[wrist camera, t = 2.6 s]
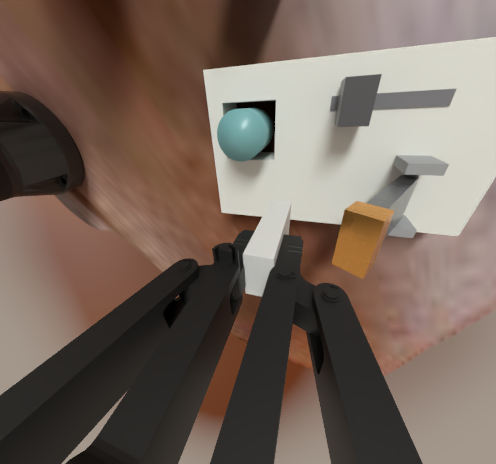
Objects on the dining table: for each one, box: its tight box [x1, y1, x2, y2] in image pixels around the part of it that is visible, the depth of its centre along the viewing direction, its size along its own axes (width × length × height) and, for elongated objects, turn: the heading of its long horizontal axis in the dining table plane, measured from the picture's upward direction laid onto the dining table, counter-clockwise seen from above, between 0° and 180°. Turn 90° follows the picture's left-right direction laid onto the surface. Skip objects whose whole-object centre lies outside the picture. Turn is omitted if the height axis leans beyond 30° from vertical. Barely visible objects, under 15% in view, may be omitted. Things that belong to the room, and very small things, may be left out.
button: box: [217, 108, 274, 162], centre depth 19 cm, size 4×4×5 cm
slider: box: [334, 74, 382, 127], centre depth 14 cm, size 2×3×3 cm
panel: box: [203, 37, 496, 238], centre depth 18 cm, size 24×14×7 cm, turn 93°
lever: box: [332, 174, 419, 279], centre depth 14 cm, size 2×4×10 cm, turn 3°
